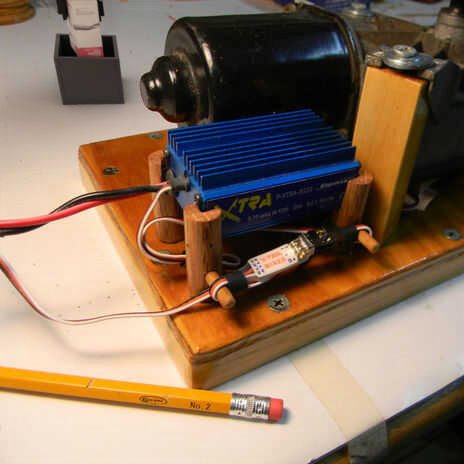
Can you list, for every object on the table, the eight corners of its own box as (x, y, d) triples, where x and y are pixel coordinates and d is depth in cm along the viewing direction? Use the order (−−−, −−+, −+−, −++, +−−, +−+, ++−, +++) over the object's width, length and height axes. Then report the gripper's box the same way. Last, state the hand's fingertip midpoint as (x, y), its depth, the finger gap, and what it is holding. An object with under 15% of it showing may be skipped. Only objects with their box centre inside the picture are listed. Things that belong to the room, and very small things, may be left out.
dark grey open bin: (62, 104, 99) (53, 57, 92) (64, 77, 108) (55, 33, 102) (124, 103, 103) (119, 58, 97) (120, 77, 113) (115, 35, 106)
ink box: (106, 58, 99) (97, -2, 91) (80, 61, 97) (69, -2, 89) (95, 44, 104) (85, -15, 97) (70, 46, 102) (58, -15, 94)
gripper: (116, -85, 90) (126, 15, 102) (13, -96, 84) (36, 11, 96) (118, -78, 85) (128, 26, 96) (8, -89, 79) (33, 23, 90)
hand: (82, 18), depth 96 cm, fingers closed on ink box, 5 cm apart
